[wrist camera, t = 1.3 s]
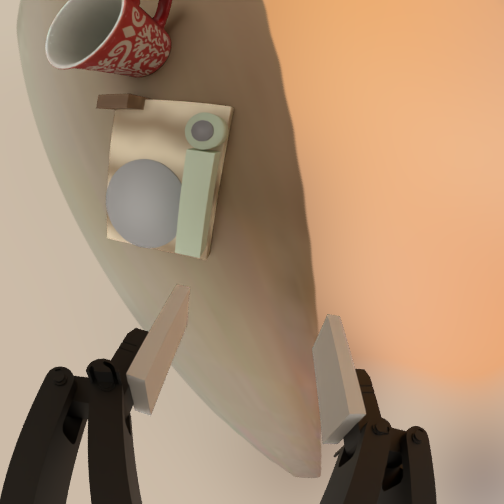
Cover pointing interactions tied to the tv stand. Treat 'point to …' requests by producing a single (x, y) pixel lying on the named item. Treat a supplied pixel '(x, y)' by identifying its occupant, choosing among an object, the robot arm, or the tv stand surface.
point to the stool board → (157, 141)
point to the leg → (199, 182)
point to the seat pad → (144, 203)
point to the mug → (109, 37)
